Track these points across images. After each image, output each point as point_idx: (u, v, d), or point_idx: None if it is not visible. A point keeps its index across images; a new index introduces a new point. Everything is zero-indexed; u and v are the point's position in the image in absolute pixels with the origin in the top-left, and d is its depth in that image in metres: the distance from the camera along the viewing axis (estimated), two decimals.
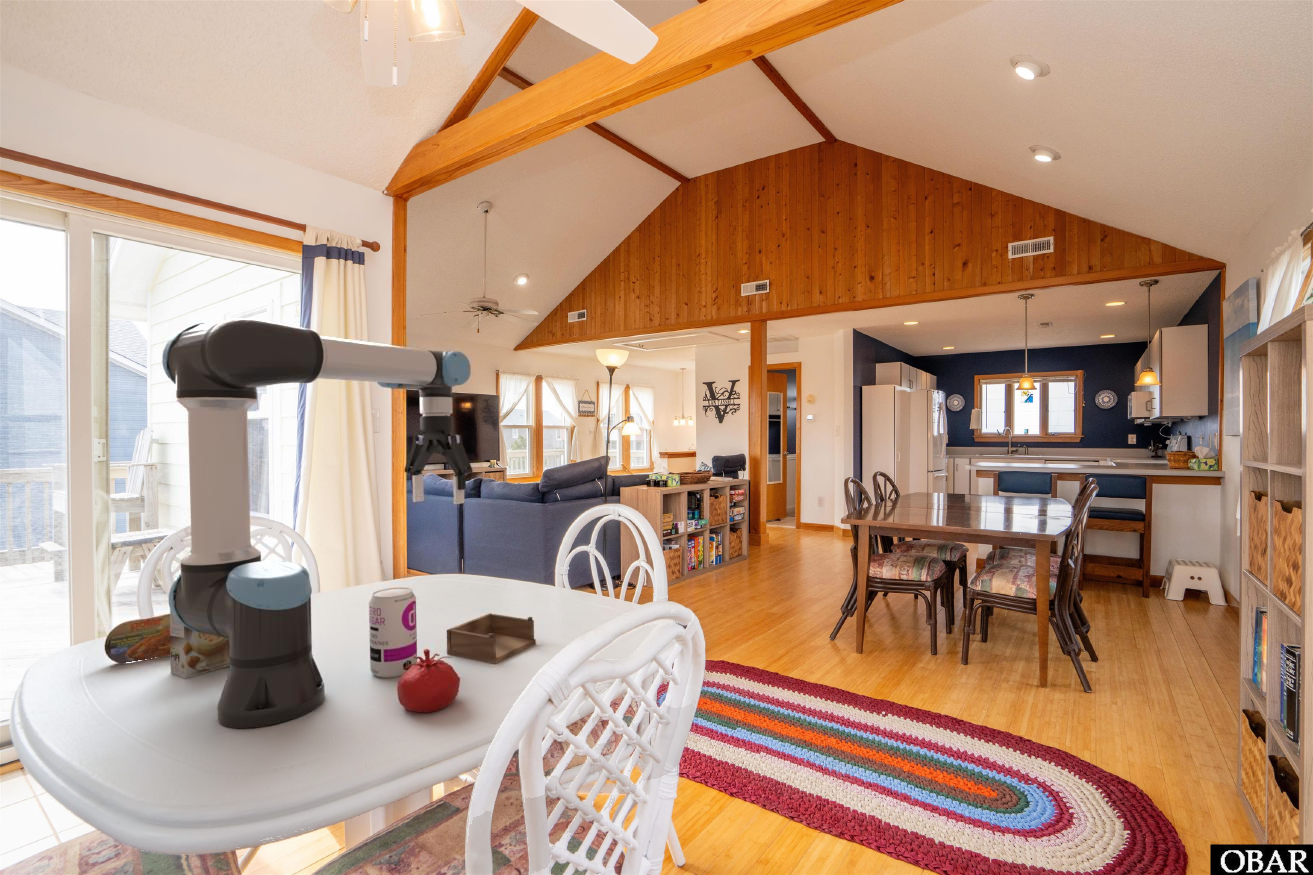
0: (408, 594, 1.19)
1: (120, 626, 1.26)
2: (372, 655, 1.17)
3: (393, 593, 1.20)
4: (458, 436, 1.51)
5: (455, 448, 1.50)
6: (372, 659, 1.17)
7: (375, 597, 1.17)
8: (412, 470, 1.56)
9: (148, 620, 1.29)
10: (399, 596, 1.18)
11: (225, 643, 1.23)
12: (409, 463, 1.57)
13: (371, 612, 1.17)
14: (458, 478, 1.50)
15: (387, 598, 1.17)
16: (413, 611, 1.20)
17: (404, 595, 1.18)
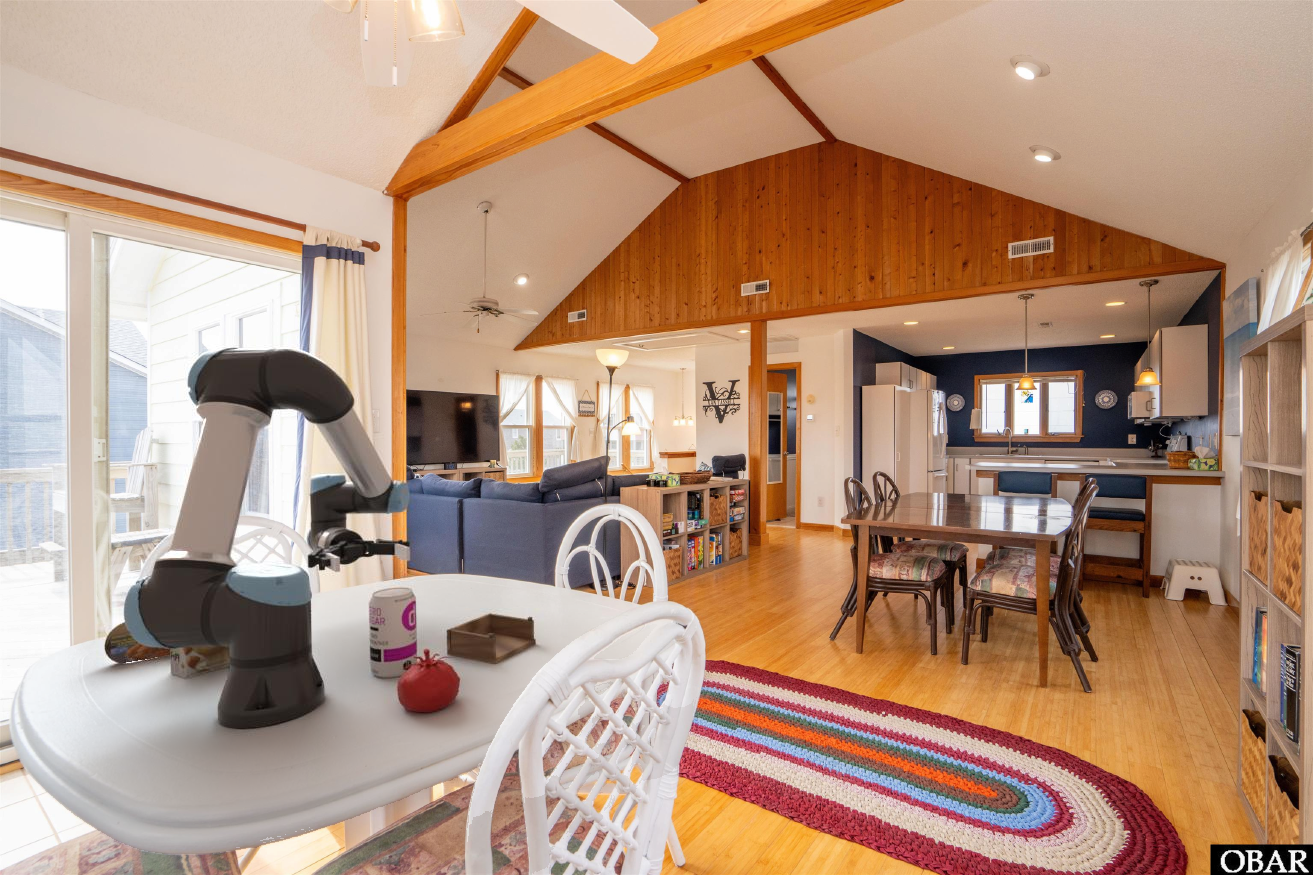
0: (408, 594, 1.19)
1: (120, 626, 1.26)
2: (372, 655, 1.17)
3: (393, 593, 1.20)
4: None
5: (387, 540, 1.42)
6: (372, 659, 1.17)
7: (375, 597, 1.17)
8: (323, 553, 1.28)
9: None
10: (399, 596, 1.18)
11: None
12: (315, 553, 1.29)
13: (371, 612, 1.17)
14: None
15: (387, 598, 1.17)
16: (413, 611, 1.20)
17: (404, 595, 1.18)
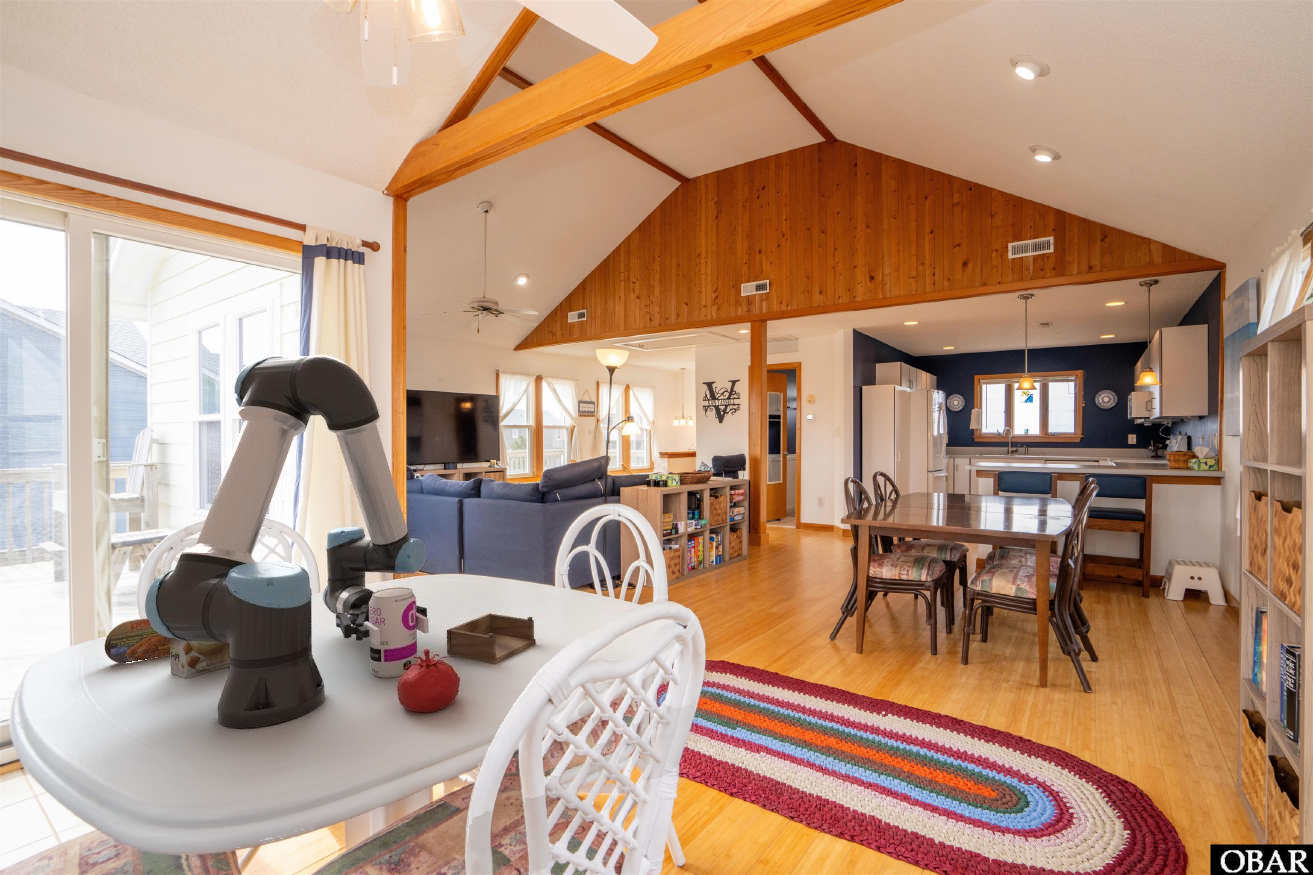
0: (408, 594, 1.19)
1: (120, 626, 1.26)
2: (372, 655, 1.17)
3: (393, 593, 1.20)
4: None
5: None
6: (372, 659, 1.17)
7: (375, 597, 1.17)
8: (359, 621, 1.19)
9: (148, 620, 1.29)
10: (399, 596, 1.18)
11: (225, 643, 1.23)
12: (348, 621, 1.19)
13: (371, 612, 1.17)
14: None
15: (387, 598, 1.17)
16: (413, 611, 1.20)
17: (404, 595, 1.18)
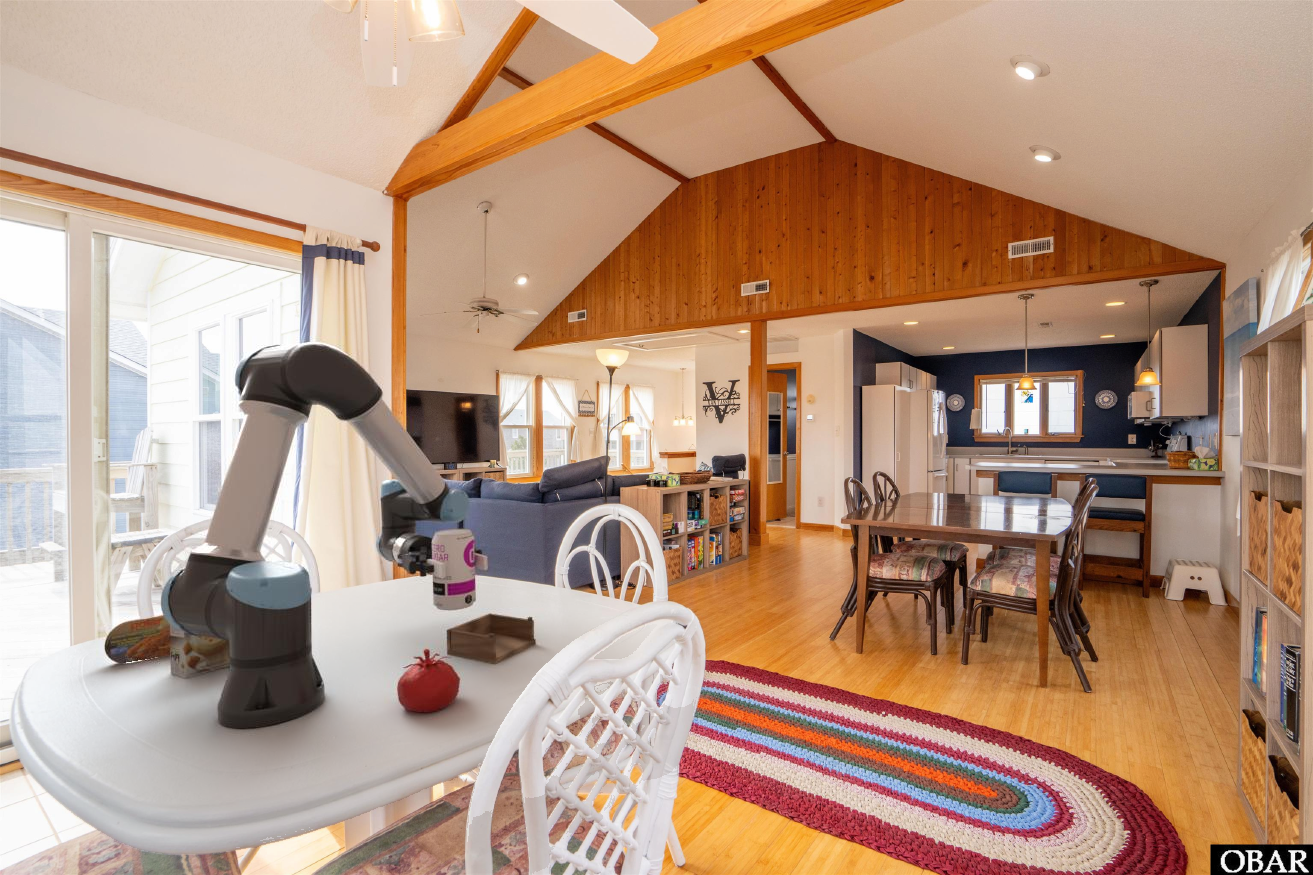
0: (468, 533, 1.27)
1: (120, 626, 1.26)
2: (436, 589, 1.25)
3: (454, 532, 1.28)
4: None
5: None
6: (436, 593, 1.25)
7: (438, 535, 1.25)
8: (422, 559, 1.27)
9: (148, 620, 1.29)
10: (461, 534, 1.25)
11: (225, 643, 1.23)
12: (412, 559, 1.27)
13: (435, 549, 1.25)
14: None
15: (450, 536, 1.25)
16: (473, 549, 1.28)
17: (465, 534, 1.26)
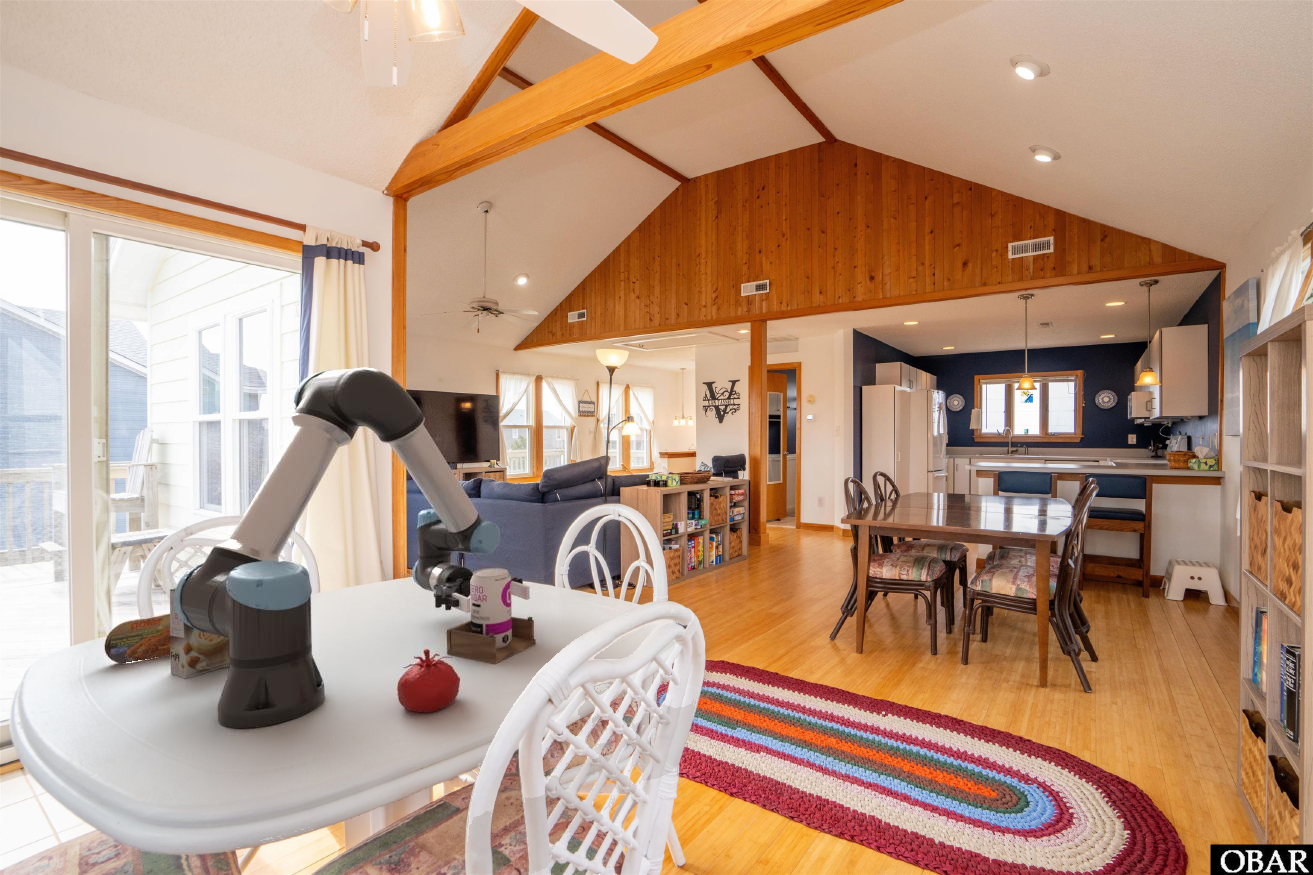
0: (506, 574, 1.30)
1: (120, 626, 1.26)
2: (474, 629, 1.28)
3: (491, 573, 1.30)
4: None
5: None
6: None
7: (477, 576, 1.28)
8: (448, 592, 1.29)
9: (148, 620, 1.29)
10: (499, 576, 1.28)
11: (225, 643, 1.23)
12: (440, 592, 1.30)
13: (473, 590, 1.28)
14: None
15: (488, 577, 1.27)
16: (510, 589, 1.30)
17: (503, 575, 1.29)
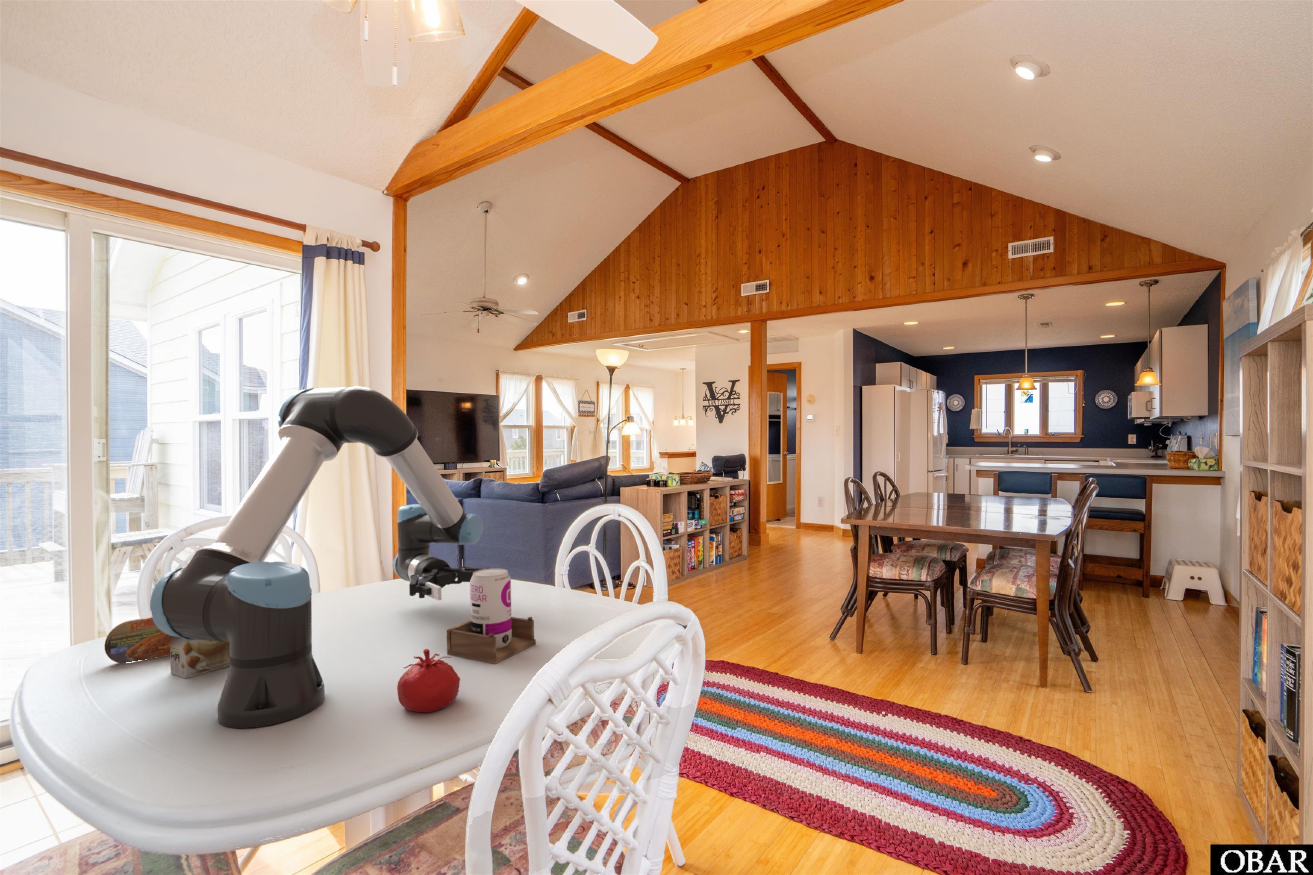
0: (505, 574, 1.30)
1: (120, 626, 1.26)
2: (474, 629, 1.28)
3: (491, 573, 1.31)
4: None
5: None
6: None
7: (476, 576, 1.28)
8: (422, 582, 1.39)
9: (148, 620, 1.29)
10: (498, 575, 1.28)
11: (225, 643, 1.23)
12: (414, 581, 1.39)
13: (473, 590, 1.28)
14: None
15: (488, 577, 1.28)
16: (509, 589, 1.31)
17: (502, 575, 1.29)
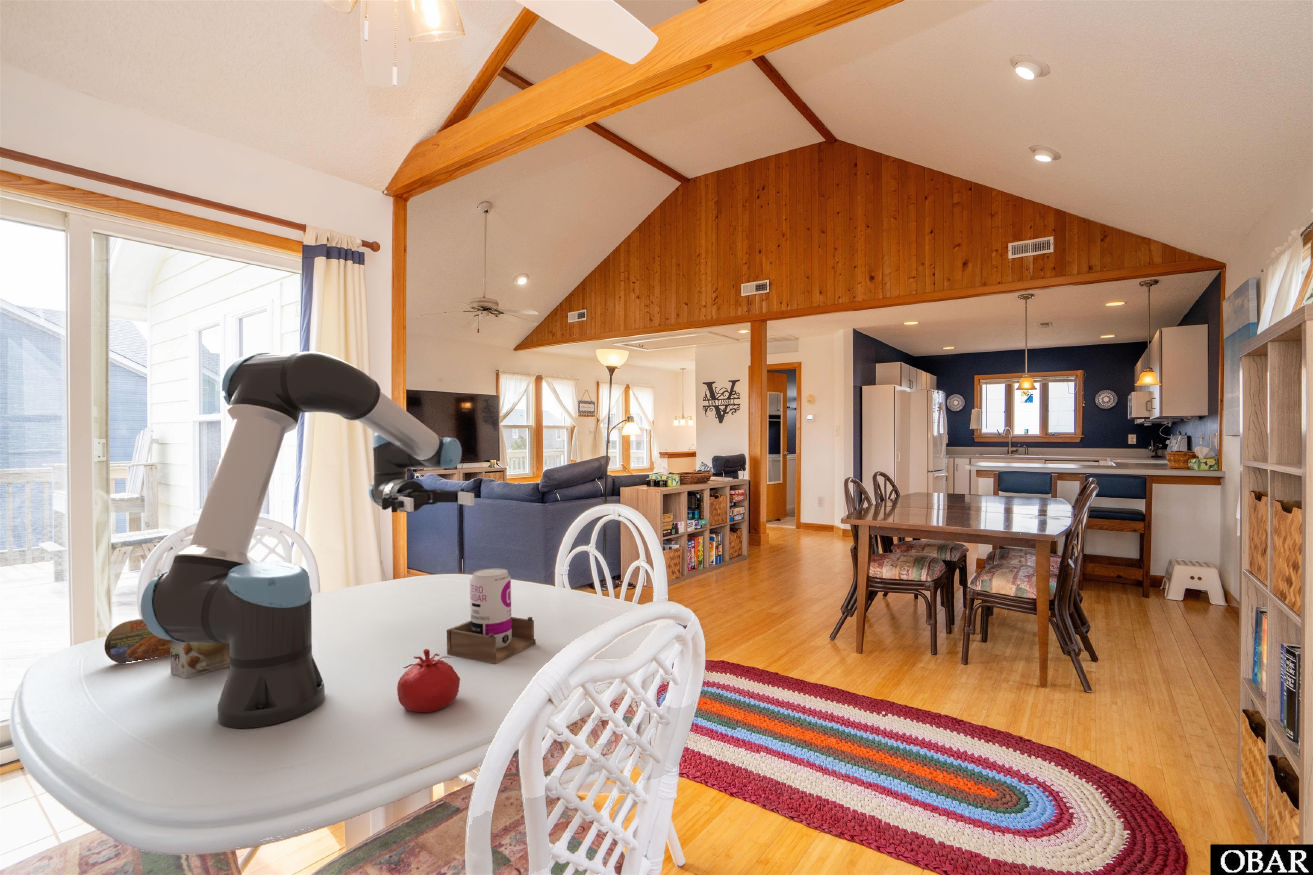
0: (505, 574, 1.30)
1: (120, 626, 1.26)
2: (474, 629, 1.28)
3: (491, 573, 1.31)
4: None
5: (448, 490, 1.51)
6: None
7: (476, 576, 1.28)
8: (395, 497, 1.37)
9: None
10: (498, 575, 1.28)
11: None
12: (387, 497, 1.38)
13: (473, 590, 1.28)
14: None
15: (488, 577, 1.28)
16: (509, 589, 1.31)
17: (502, 575, 1.29)
